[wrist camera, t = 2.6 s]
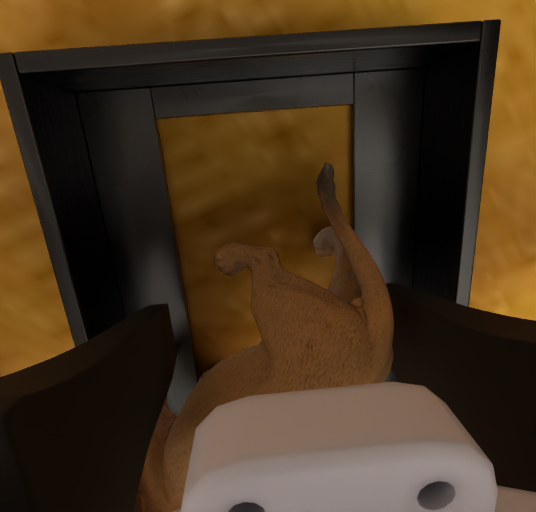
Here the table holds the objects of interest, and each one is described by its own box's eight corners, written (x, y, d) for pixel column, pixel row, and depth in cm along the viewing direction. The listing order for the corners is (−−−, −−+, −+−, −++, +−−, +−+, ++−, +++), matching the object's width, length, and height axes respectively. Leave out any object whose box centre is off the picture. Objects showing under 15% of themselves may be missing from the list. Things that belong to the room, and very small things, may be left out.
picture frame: (149, 463, 17) (127, 535, 14) (60, 78, 12) (-9, 53, 9) (411, 435, 17) (447, 499, 14) (435, 52, 12) (502, 18, 9)
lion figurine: (207, 449, 17) (249, 746, 10) (95, 438, 15) (31, 821, 7) (371, 189, 13) (666, 335, 6) (255, 119, 11) (488, 204, 3)
